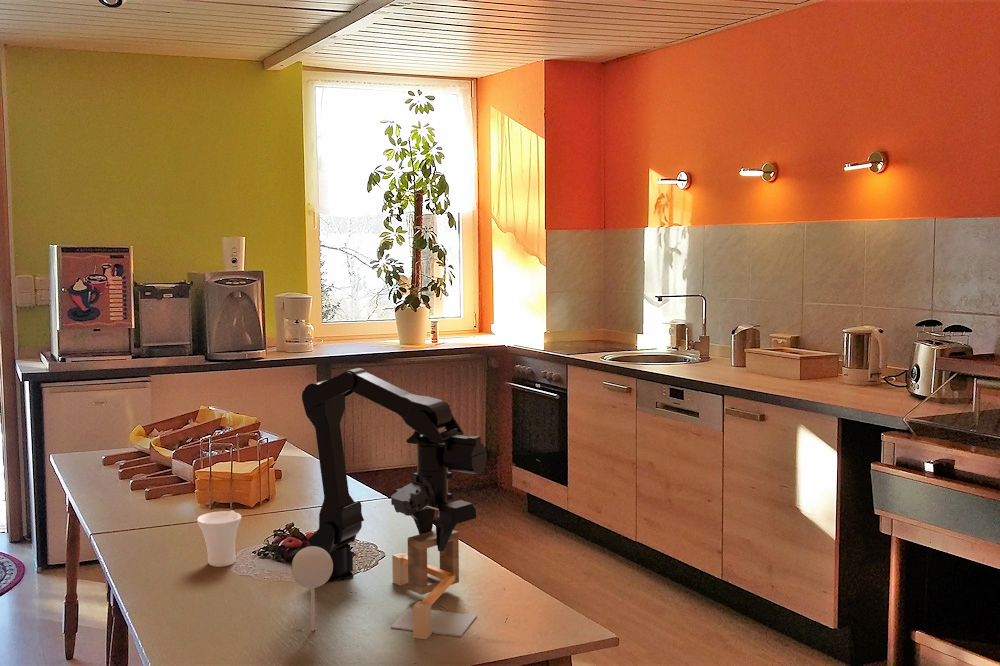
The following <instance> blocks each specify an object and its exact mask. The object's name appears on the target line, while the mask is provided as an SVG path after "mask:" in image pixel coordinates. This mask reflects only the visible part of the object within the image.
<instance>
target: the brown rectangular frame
mask: <svg viewBox="0 0 1000 666" xmlns="http://www.w3.org/2000/svg"><path fill="white" fill-rule="evenodd" d="M459 533H460V532H459V531H457V530H454V529H453V531H452V533H451V536H450V538H449V540H448V542H447V544H446V546H445V548H444V550H443V551H441V552H439V569H442V570H444V571H447V572H449V573H452V574H455V581H454V582H453V583H452V584H451V585H450V586H452V585H455V584H458V583H460V568H459V567H460V560H459V559H460V554H459V553H460V550H459V548H460V547H459V546H460V545H459V537H460V536H459ZM435 546H437V537H436V529H434V530H433V529H432V531H430V532H426V533H423V534H419V533H418V534H417V535H413V536H409V537H407V555H408V583H407V585H408V587H407V588H408V590H409V591H411V592H414V593H416V594H418V595H422V596H423V595H425V594H429V593H430V592H431V591H432V590H433V589H434V588H435V587H436V586H437V585H438V584H439V583H440V582H441V581H442V580H443V579H440V578H438V577H435V576H433V575H430V574H428V573H427V564H428V549H430V548H433V547H435Z"/></svg>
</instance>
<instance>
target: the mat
mask: <svg viewBox="0 0 1000 666" xmlns="http://www.w3.org/2000/svg"><path fill="white" fill-rule="evenodd" d="M476 619H477V614H468V613H461V612H453V611H443V610H434V609H431V634H435V635H444V636H451V637H460V638H461V637H463V635H464V634H465V633H466V631H467V630H468V628H469V627H470V626H471V625H472V624H473V622H474V621H475V620H476ZM390 629H395V630H403V631H412V632H413V607H408V609H406V610H405V612H404V613H402V615H400V617H399V618H398V619H397V620H396V621H395V622H394V623H393V624H392V625H391V626H390Z"/></svg>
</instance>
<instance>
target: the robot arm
mask: <svg viewBox="0 0 1000 666" xmlns="http://www.w3.org/2000/svg"><path fill="white" fill-rule="evenodd" d="M301 392H302V393H301V401H302V405H303V409H304V411H305V415H306V417H307V418H308V420H309V421H310V422H311V424H312V425H313V427H314V430H315V436H316V437H315V438H316V445H317V452H318V460H319V461H318V462H319V468H320V474H321V483H322V490H323V491H322V492H323V501H322V503H321V504H322V505H321V507H320V509H319V510H320V511H319V513H318V529H317V530H316V531H315V532H314V533H313V534H312V535H311V536H310V537H309V538H308V539H307V541H308V545H309V546H317V547H320V548H322V549H324V550H325V551H327V552H328V554H329V555H330V557H331V559H332V562H333V571H332V574H331V576H330V578H329V580H328V581H327V582H326V583H328V582H335V581H339V580H344V579H351V578H354V573H353V571H354V559H353V551H352V550H351V545H350V543H353V542H355V541H356V538H357V535H358V534H359V532H360V530H361V529H362V524H363V522H364V521H365V518H364V517H363V514H362V503H361V501H355V500H354V498H352V497H351V495H350V492H349V491H350V490H349V483H348V477H347V469H346V461H345V452H344V445H343V439H342V438H343V437H342V429H341V422H342V418H343V415H344V413H345V409H346V398H347V397H349V396H351V395H353V394H356V395H359V396H360V397H362V398H364V399H367V400H368V401H371V402H373V403H375V404H377V405H378V406H381V407H383V408H384V409H386V410H388V411H391V412H393V413H395V414H396V415H398V416H400V418H401V419H402V421H403V422H404V423H405V424H406V425H407V426H408V427H409V428H410V429H412V430H414V432H413V433H412V434H411V436H409V437H408V438H407V439H406V443H407V444H412V445H416V467H417V468H416V472H413V473H412V475H411V480H410V483H409V484H407V485H404V486H402V487H401V488H397V489H394V490H393V492H392V493H391V495H390V499H391V505H392V506H393V509H394V511H395V513H400V514H403V515H404V516H408V517H411V518H412V520H413V521H414V523H415V526H416V529H417V530H418V535H419V534H423V533H426V532H430V531H433V526H435V530H436V537H437V545H436V546H437V551H438V552H439V553H440V552H441V551H443V550H444V548H445V546H446V544H447V542H448V540H449V538H450V536H451V533H452V531H453V530H454V529H455V527H456V526H457V524H460V523H465V522H467V521H471V520H476V519H477V507H476V505H474V503H471V502H470V501H469V502H468V501H465V500H462V499H459V500H456V501H451V502H448V501H450V500H453V498H454V495H453V493H450V492H449V485H448V484H449V482H448V481H449V479H453V472H459V473H467V474H472V475H473V474H475V475H476V474H477V475H480V474H482V473H483V471H484V470H485V468H486V465H487V464H486V463H487V458H488V452H487V451H486V447H485V445H484V444H483V442H482V437H481V436H480V435H472V436H468V435H464V431H463V429H462V428H461V426H460V425H459V423H458V421H457V420H456V418H455V417H454V415H453V414H452V409H451V406H450V405H449V403H448V402H446V401H445V400H443V399H440V398H435V397H432V396H428V395H418V394H413V393H410V392H408V391H407V390H405V389H402V388H401V387H398V386H396V385H394V384H392V383H390V382H388V381H386V380H384V379H382V378H379V377H377V376H375V375H374V374H371V373H369V372H367V370H365V369H364V368H360V367H357V368H353V369H347V370H344V371H343V372H342V373H341V374H339V375H337V376H334V377H331V378H330V379H326V380H322V381H317V382H312V383H309V384H307V385H306V386H305V388H304V389H303V390H302V391H301ZM442 430H444V431H442ZM440 431H441V432H440ZM449 470H450V471H451V472H450V471H449ZM452 471H453V472H452ZM436 511H438V513H437V516H436V517H435V515H436Z"/></svg>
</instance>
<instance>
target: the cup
mask: <svg viewBox="0 0 1000 666" xmlns="http://www.w3.org/2000/svg"><path fill="white" fill-rule="evenodd" d="M241 520H242V515H241V514H240V513H238V512H235V511H234V510H233V509H231V510H229V511H227V510H226V511H225V510H223V511H222V510H221V511H213V512H207V513H204V514H200V516H198V517H197V521H196V522H197V525H198V526H199V528H200V530H201V532H202V535H203V539H204V540H205V545H206V551H207V562H208V564H209V565H210V566H211V567H218V568H219V567H220V568H221V567H227V566H231V565H233V564H234V563H235V562H236V536H237V534H238V533H237V532H238V528H239V524H240V522H241Z"/></svg>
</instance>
